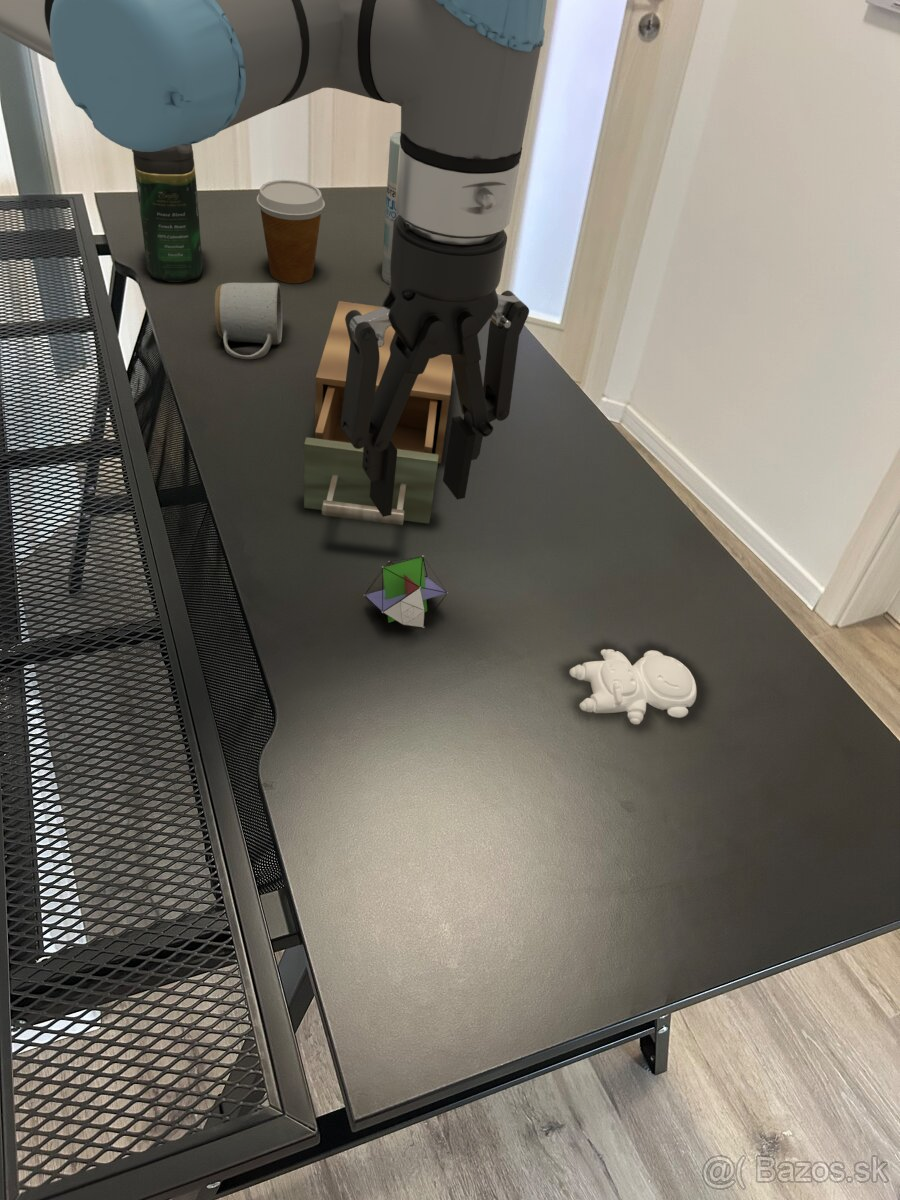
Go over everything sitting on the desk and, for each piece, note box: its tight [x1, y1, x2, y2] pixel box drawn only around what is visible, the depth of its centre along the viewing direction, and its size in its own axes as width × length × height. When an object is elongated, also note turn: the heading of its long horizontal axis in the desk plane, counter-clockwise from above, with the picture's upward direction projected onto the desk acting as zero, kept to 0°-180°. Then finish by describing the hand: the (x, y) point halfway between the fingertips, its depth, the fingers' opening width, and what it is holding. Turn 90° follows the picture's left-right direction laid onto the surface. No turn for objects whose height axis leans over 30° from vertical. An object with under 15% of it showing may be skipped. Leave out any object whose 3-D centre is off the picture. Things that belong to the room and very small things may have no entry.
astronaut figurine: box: [569, 648, 697, 725], centre depth 78 cm, size 9×12×3 cm
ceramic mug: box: [214, 282, 284, 360], centre depth 110 cm, size 11×8×8 cm
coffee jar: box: [131, 144, 203, 283], centre depth 118 cm, size 10×8×19 cm
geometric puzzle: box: [363, 554, 449, 631], centre depth 80 cm, size 7×7×8 cm
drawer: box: [303, 385, 439, 526], centre depth 91 cm, size 22×13×8 cm, turn 177°
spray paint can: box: [381, 131, 401, 286], centre depth 125 cm, size 6×6×20 cm
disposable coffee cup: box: [256, 179, 326, 284], centre depth 124 cm, size 10×10×12 cm
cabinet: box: [314, 300, 454, 464], centre depth 102 cm, size 18×15×10 cm
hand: (417, 497), depth 72 cm, fingers open, 6 cm apart
